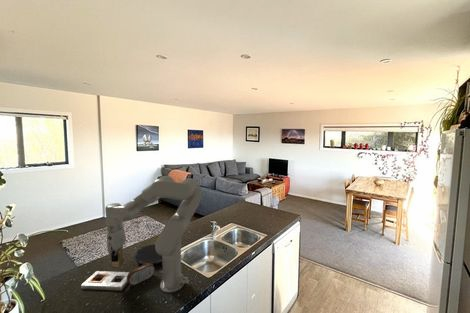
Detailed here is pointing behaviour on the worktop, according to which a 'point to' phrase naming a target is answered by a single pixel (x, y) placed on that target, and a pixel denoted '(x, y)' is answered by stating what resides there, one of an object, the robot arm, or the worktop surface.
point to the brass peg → (120, 258)
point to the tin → (140, 274)
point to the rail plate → (106, 281)
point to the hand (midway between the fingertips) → (117, 258)
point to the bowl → (148, 255)
